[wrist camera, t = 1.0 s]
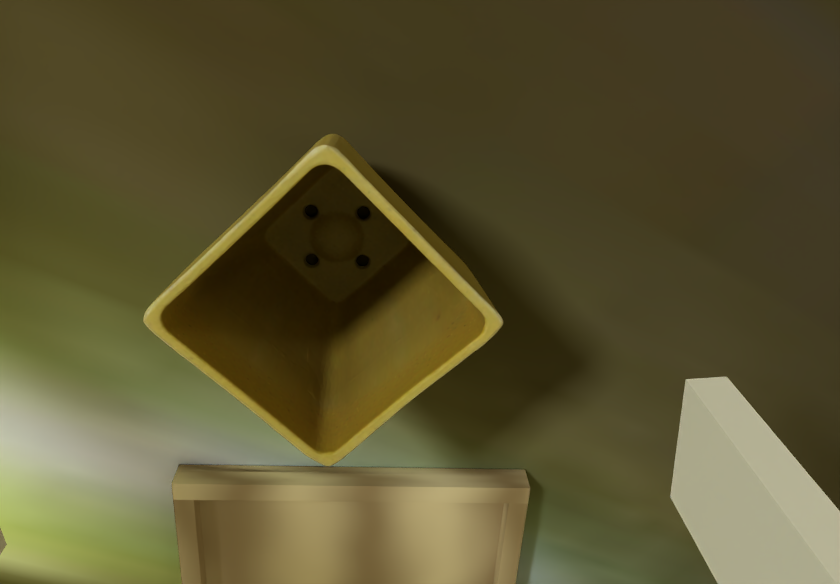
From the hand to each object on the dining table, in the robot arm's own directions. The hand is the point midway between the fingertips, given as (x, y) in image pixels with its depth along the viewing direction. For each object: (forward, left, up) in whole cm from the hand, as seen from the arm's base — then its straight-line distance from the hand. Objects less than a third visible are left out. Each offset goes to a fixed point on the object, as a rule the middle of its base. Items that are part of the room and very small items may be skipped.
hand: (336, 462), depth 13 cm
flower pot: (-1, -3, -20) cm, 20 cm away
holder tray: (0, -25, -19) cm, 31 cm away
